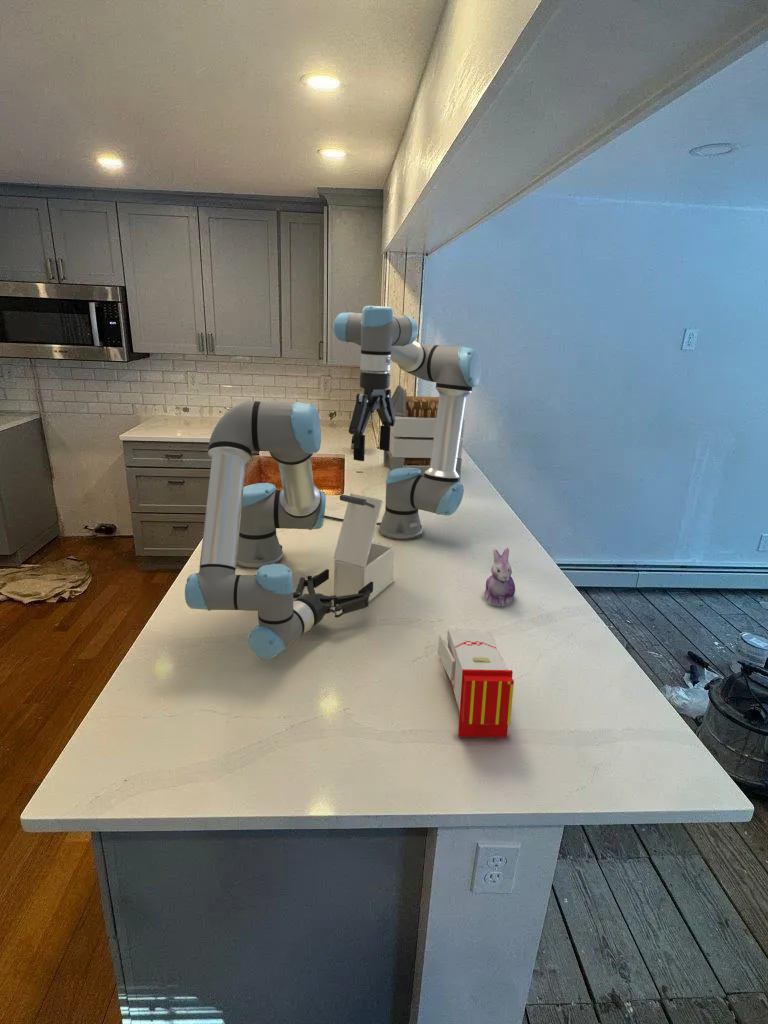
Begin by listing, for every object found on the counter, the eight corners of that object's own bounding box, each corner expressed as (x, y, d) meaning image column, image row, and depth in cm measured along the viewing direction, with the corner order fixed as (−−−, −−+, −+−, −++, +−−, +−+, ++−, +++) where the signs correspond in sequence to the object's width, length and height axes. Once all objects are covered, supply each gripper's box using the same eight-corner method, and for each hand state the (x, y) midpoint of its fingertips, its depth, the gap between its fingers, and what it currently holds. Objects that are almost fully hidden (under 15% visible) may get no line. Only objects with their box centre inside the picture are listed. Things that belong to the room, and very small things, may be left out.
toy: (488, 613, 130) (523, 677, 101) (484, 667, 133) (517, 744, 104) (435, 612, 130) (455, 676, 101) (432, 666, 133) (451, 743, 103)
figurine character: (362, 456, 306) (363, 447, 319) (363, 443, 302) (363, 434, 316) (350, 456, 306) (351, 446, 319) (350, 442, 302) (351, 433, 316)
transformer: (382, 463, 289) (386, 382, 275) (445, 464, 293) (451, 384, 279) (390, 482, 257) (394, 392, 243) (460, 483, 261) (468, 394, 247)
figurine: (497, 611, 151) (503, 559, 146) (474, 594, 159) (479, 545, 154) (524, 604, 155) (532, 554, 150) (501, 588, 163) (507, 540, 158)
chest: (365, 574, 169) (366, 540, 165) (392, 581, 165) (394, 547, 161) (333, 597, 154) (334, 561, 151) (363, 606, 150) (364, 569, 147)
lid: (352, 494, 152) (338, 488, 145) (382, 500, 148) (369, 494, 141) (335, 559, 151) (319, 556, 144) (365, 567, 147) (351, 564, 140)
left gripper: (260, 614, 139) (310, 581, 157) (347, 644, 128) (390, 605, 146) (259, 587, 136) (310, 556, 154) (348, 615, 126) (392, 578, 144)
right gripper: (362, 377, 129) (360, 467, 136) (410, 369, 150) (405, 448, 157) (335, 374, 132) (333, 462, 139) (385, 367, 153) (382, 444, 160)
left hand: (349, 580), depth 150 cm, fingers open, 13 cm apart
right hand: (372, 455), depth 148 cm, fingers open, 13 cm apart
